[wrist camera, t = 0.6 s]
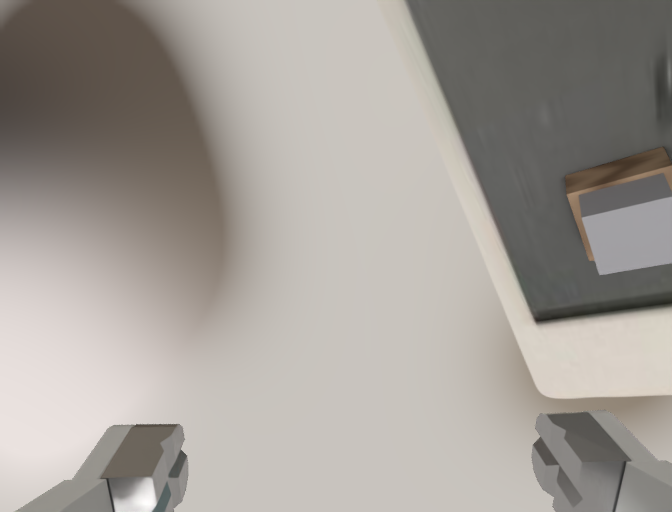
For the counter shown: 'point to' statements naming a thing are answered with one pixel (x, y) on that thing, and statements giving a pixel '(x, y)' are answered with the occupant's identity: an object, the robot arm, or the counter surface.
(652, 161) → the walnut base block
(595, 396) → the counter surface
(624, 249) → the grey top block
